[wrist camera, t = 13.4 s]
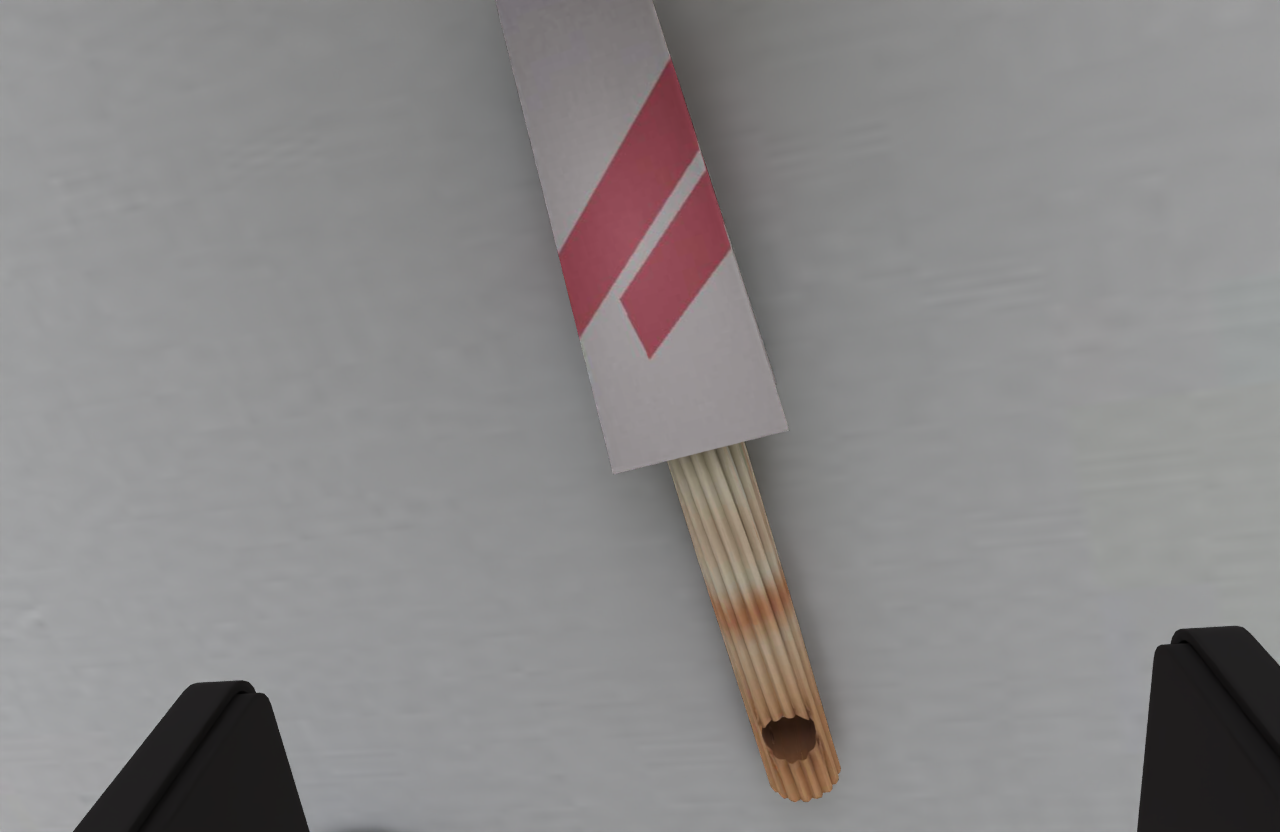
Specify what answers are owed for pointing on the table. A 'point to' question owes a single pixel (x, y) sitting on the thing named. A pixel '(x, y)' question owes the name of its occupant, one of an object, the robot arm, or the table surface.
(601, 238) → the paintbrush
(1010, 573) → the table surface
